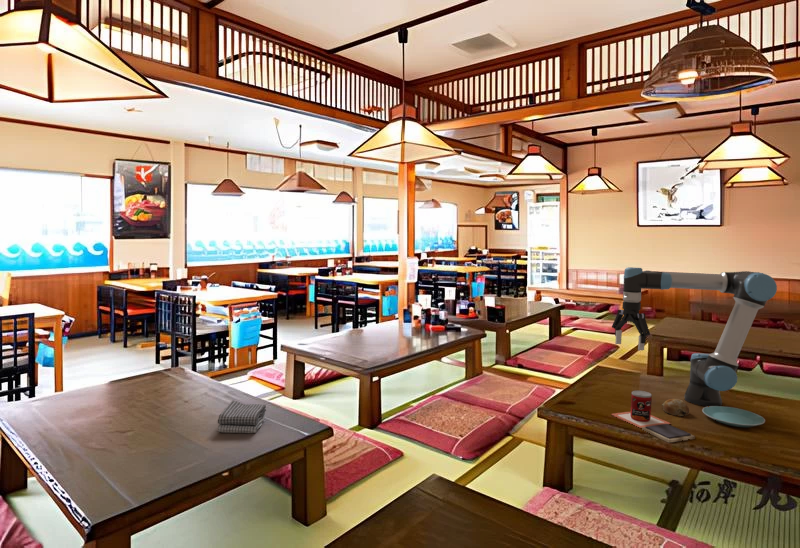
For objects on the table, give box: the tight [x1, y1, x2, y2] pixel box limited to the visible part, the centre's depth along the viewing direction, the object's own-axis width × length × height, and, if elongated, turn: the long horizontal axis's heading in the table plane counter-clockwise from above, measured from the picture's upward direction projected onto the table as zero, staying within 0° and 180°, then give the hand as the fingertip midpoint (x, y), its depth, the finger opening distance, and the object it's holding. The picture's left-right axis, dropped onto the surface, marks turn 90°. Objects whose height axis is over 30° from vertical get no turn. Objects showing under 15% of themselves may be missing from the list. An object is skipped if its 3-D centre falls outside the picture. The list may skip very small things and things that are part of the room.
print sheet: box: [610, 411, 672, 429], centre depth 206 cm, size 16×16×1 cm
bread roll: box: [661, 398, 690, 417], centre depth 216 cm, size 10×10×8 cm
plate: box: [701, 405, 766, 428], centre depth 207 cm, size 22×22×3 cm
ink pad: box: [641, 424, 696, 444], centre depth 191 cm, size 13×13×2 cm
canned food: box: [630, 390, 653, 422], centre depth 206 cm, size 8×8×11 cm
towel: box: [217, 400, 267, 434], centre depth 192 cm, size 15×18×8 cm
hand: (629, 347), depth 225 cm, fingers open, 13 cm apart
